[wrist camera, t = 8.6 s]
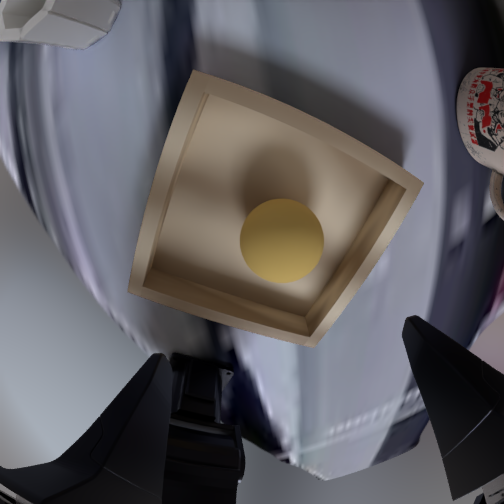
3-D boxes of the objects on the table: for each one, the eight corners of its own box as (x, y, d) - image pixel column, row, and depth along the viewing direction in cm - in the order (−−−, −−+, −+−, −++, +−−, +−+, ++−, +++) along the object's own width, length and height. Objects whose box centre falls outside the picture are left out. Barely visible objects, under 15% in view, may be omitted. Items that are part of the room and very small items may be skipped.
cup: (101, 53, 13) (38, 41, 7) (48, 47, 12) (-16, 43, 6) (131, -12, 11) (83, -49, 5) (75, -13, 10) (20, -36, 4)
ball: (303, 297, 19) (332, 280, 14) (229, 280, 18) (233, 258, 14) (313, 229, 20) (340, 196, 16) (245, 212, 20) (254, 173, 15)
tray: (308, 323, 25) (314, 347, 22) (139, 269, 22) (127, 292, 19) (402, 170, 18) (424, 183, 15) (201, 74, 15) (193, 69, 12)
